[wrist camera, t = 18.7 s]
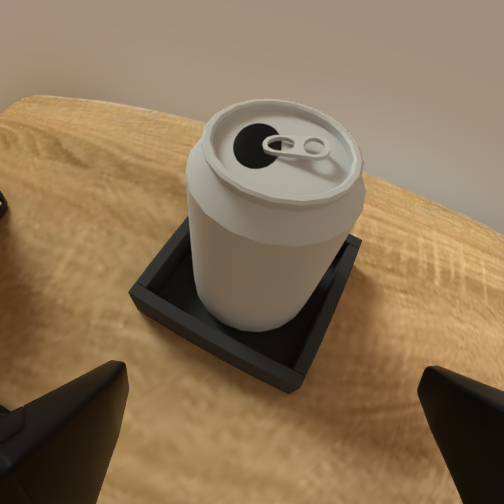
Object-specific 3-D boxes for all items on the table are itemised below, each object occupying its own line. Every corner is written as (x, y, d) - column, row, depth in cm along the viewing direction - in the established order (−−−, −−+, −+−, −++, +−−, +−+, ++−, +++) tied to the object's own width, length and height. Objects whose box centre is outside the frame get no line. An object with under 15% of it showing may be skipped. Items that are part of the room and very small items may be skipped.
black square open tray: (289, 394, 18) (300, 388, 16) (137, 309, 20) (127, 292, 18) (349, 259, 24) (362, 239, 22) (221, 197, 26) (223, 173, 24)
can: (211, 225, 24) (216, 76, 14) (312, 248, 24) (373, 112, 13) (181, 320, 20) (150, 186, 10) (298, 347, 20) (388, 240, 9)
